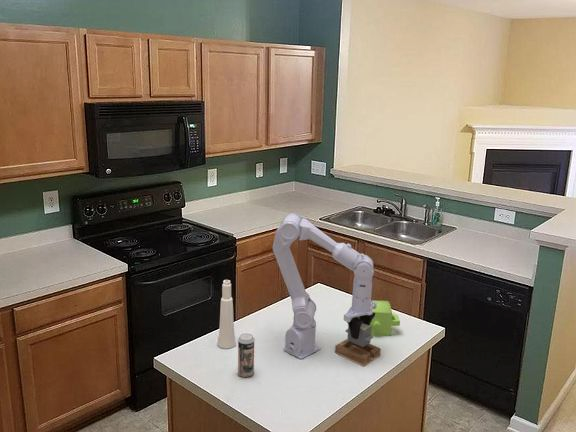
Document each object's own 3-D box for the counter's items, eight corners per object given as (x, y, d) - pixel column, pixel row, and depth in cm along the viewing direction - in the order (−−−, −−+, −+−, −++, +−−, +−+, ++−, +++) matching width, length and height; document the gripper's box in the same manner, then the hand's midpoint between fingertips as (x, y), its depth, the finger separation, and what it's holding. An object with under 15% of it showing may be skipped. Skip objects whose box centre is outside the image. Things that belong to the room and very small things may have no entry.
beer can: (240, 379, 155) (241, 342, 152) (235, 371, 159) (235, 334, 156) (256, 376, 157) (257, 339, 154) (250, 367, 161) (251, 331, 158)
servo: (365, 348, 165) (367, 331, 164) (344, 338, 171) (345, 322, 169) (373, 344, 168) (374, 327, 167) (351, 334, 174) (353, 318, 172)
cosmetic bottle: (237, 340, 177) (237, 277, 171) (234, 349, 171) (234, 285, 165) (219, 339, 177) (219, 276, 172) (215, 348, 172) (215, 284, 166)
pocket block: (363, 366, 164) (363, 358, 163) (334, 352, 171) (335, 345, 171) (380, 355, 170) (380, 348, 170) (352, 343, 178) (352, 336, 177)
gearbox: (346, 338, 182) (348, 313, 179) (344, 323, 191) (345, 299, 188) (400, 339, 182) (402, 314, 179) (394, 324, 191) (396, 300, 188)
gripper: (358, 306, 158) (355, 348, 161) (386, 292, 168) (382, 332, 172) (339, 299, 162) (336, 339, 166) (367, 286, 173) (364, 324, 176)
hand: (358, 335), depth 169 cm, fingers closed on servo, 4 cm apart
